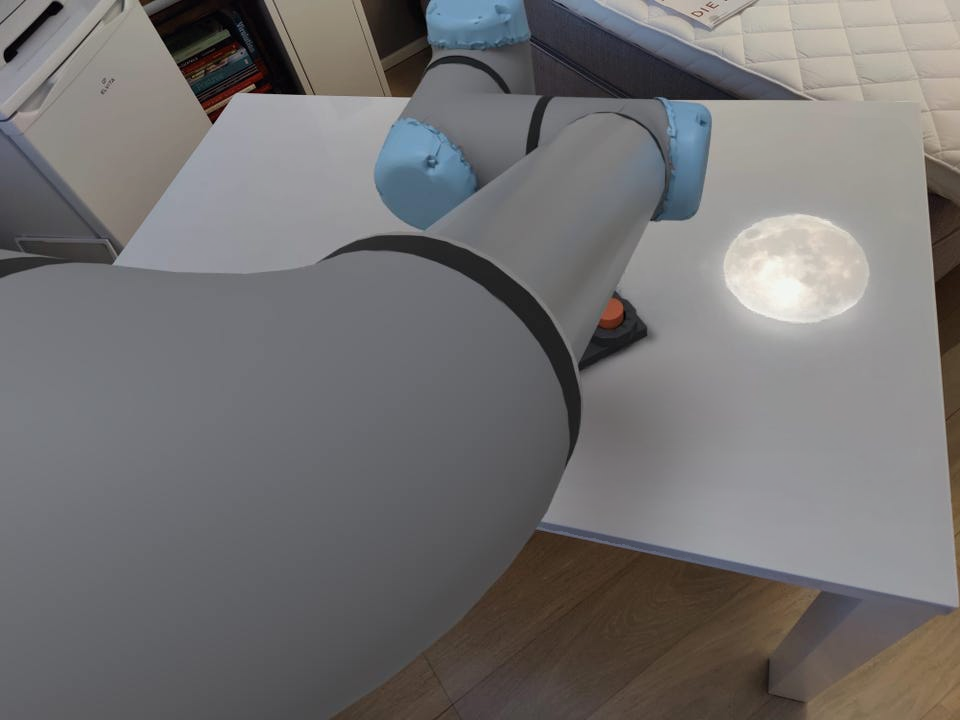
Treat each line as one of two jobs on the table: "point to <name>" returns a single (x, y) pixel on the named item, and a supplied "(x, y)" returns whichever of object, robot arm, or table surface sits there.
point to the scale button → (612, 315)
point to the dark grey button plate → (614, 335)
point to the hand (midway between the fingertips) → (530, 321)
